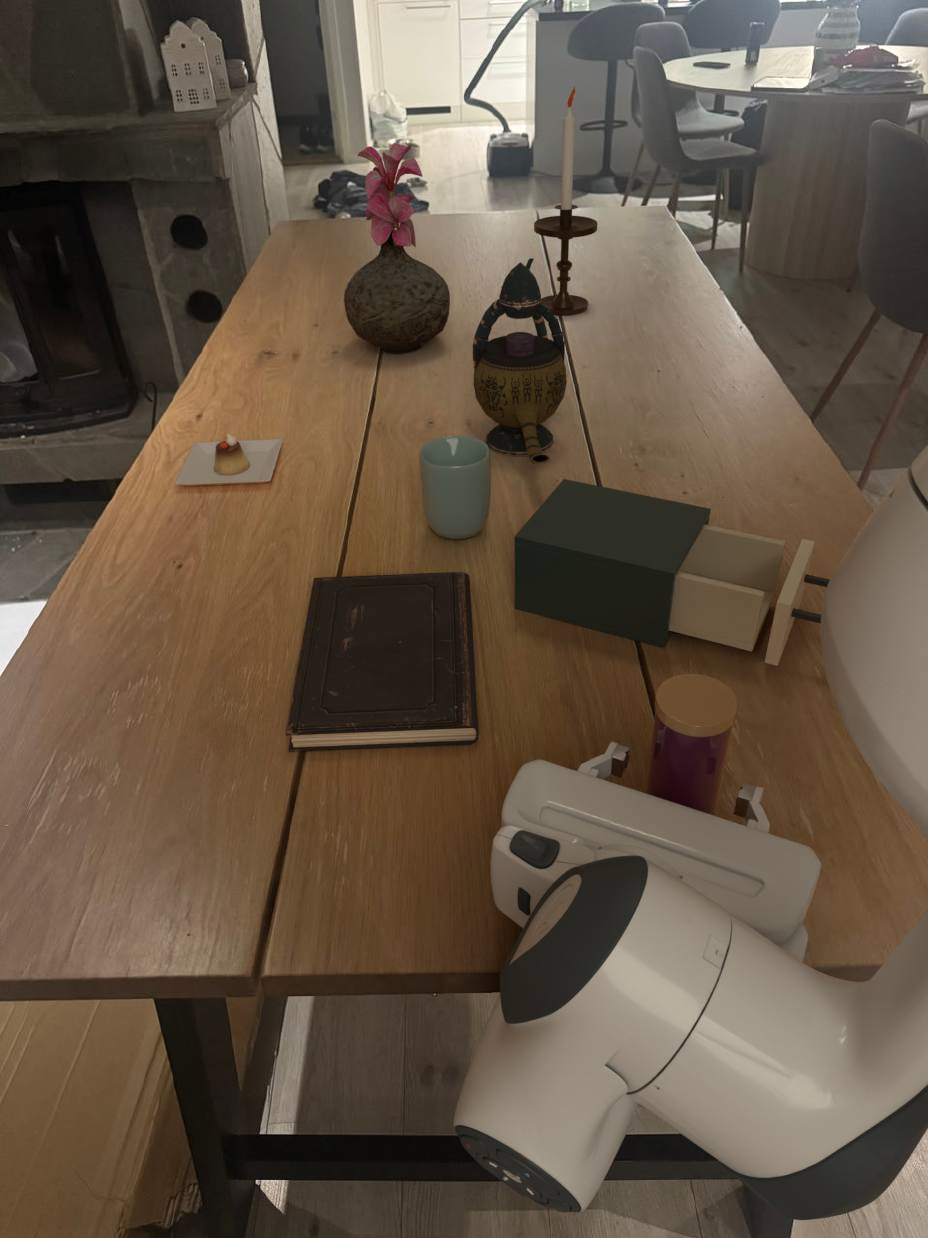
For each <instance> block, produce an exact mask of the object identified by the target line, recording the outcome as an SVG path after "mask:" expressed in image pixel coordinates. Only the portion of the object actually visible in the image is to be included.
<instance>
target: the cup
mask: <svg viewBox="0 0 928 1238" xmlns="http://www.w3.org/2000/svg"><path fill="white" fill-rule="evenodd" d="M490 451H491V449H490V448H489V447H488V446H487V444H486V441H483V440H482V439H480V438H476V437H474V436H473V437H472V436H468V435H467V436H465V435H449V436H441V437H436V438H434V439H430V440H429V441H427V442H426V443H424V444H423V445H422V447H421V448H420V450H419V455H418V456H419V457H418V458H419V477H420V491H421V499H422V506H423V511H424V515H425V519H426V522H427V523H428V526H429V528H430V529H431V530H432V531H433V533H434V534H435V535H437V536H438V537H441V538H444V539H447V540H465V539H470V538H472V537H474V536H476V535H478V534H479V533H480V532H482V530H483V528H484V527H485V525H486V523H487V521H488V518H489V515H490V514H489V513H490V507H491V498H492V497H491V495H492V462H491V460H492V459H491V452H490Z"/></svg>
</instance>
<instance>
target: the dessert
mask: <svg viewBox="0 0 928 1238" xmlns="http://www.w3.org/2000/svg"><path fill="white" fill-rule="evenodd" d="M283 441H284V439H283V438H265V439H263V438H262V439H240V440H239V439H237V437H236V436H235V435H232V434H229V433H227V434H226V436H225V437H224V439H223V440H216V441H215V440H212V441H211V440H210V441H194V442H193V443H192V446H191V448H190V450H189V452H188V454H187V456H186V458H185V460H184V463H183V464H182V466H181V469H180V470H179V473H178V475H177V477H176V479H175V481H174V485H175V486H183V487H184V486H186V487H200V486H201V487H203V486H205V487H206V486H226V485H227V486H228V485H250V484H251V485H253V484H264V483H267V482H270V481H272V478H273V474H274V472H275V471H274V470H275V467H276V464H277V461H278V458H279V454H280V450H281V447H282V444H283Z"/></svg>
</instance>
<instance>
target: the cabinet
mask: <svg viewBox="0 0 928 1238" xmlns="http://www.w3.org/2000/svg"><path fill="white" fill-rule="evenodd" d="M710 517H711V508H709V507H704V506H699V505H695V504H689V503H685V502H680V501H675V500H670V499H664V498H659V497H655V496H651V495H646V494H640V493H635V492H632V491H625V490H621V489H617V488H611V487H605V486H601V485H595V484H590V483H585V482H581V481H575V480H572V479H571V480H570V479H565V478H564V479H562V480H561V481H560V483H559V484H558V485H557V486H556V487H555V489H554V490H553V491H552V492H551V493H550V494H549V496H548V497H546V499H545V500H544V501H543V502H542V504H541V505H540V506H539V507H538V508H537V510H536V511H535V512H534V513H533V514H532V515H531V517H530V518H528V520H527V521H526V522H525V524H523V526H522V527H521V528H520V529H519V531H518V532H517V533H516V534H515V535H514V609H515V610H519V611H523V612H526V613H529V614H530V613H531V614H534V615H537V616H541V617H544V618H549V619H553V620H556V621H560V622H564V623H567V624H571V625H575V626H580V627H583V628H587V629H590V630H593V631H598V632H600V633H601V632H602V633H604V634H609V635H612V636H616V637H620V638H624V639H627V640H630V641H631V640H632V641H636V642H640V643H643V644H646V645H651V646H655V647H657V648H662V649H665V648H666V646H667V645H668V643H669V641H670V639H671V637H672V635H673V633H674V632H673V631H669V624H670V616H671V608H672V600H673V592H674V584H675V576H676V574H677V572H678V571H679V569H680V567H681V565H682V564H683V562H684V560H685V558H686V557H687V555H688V553H689V551H690V549H691V548H692V546H693V544H694V542H695V541H696V539H697V537H698V535H699V534H700V532H701V530H702V528H703V526H704V525H705V524H706V525H709V523H710Z"/></svg>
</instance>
